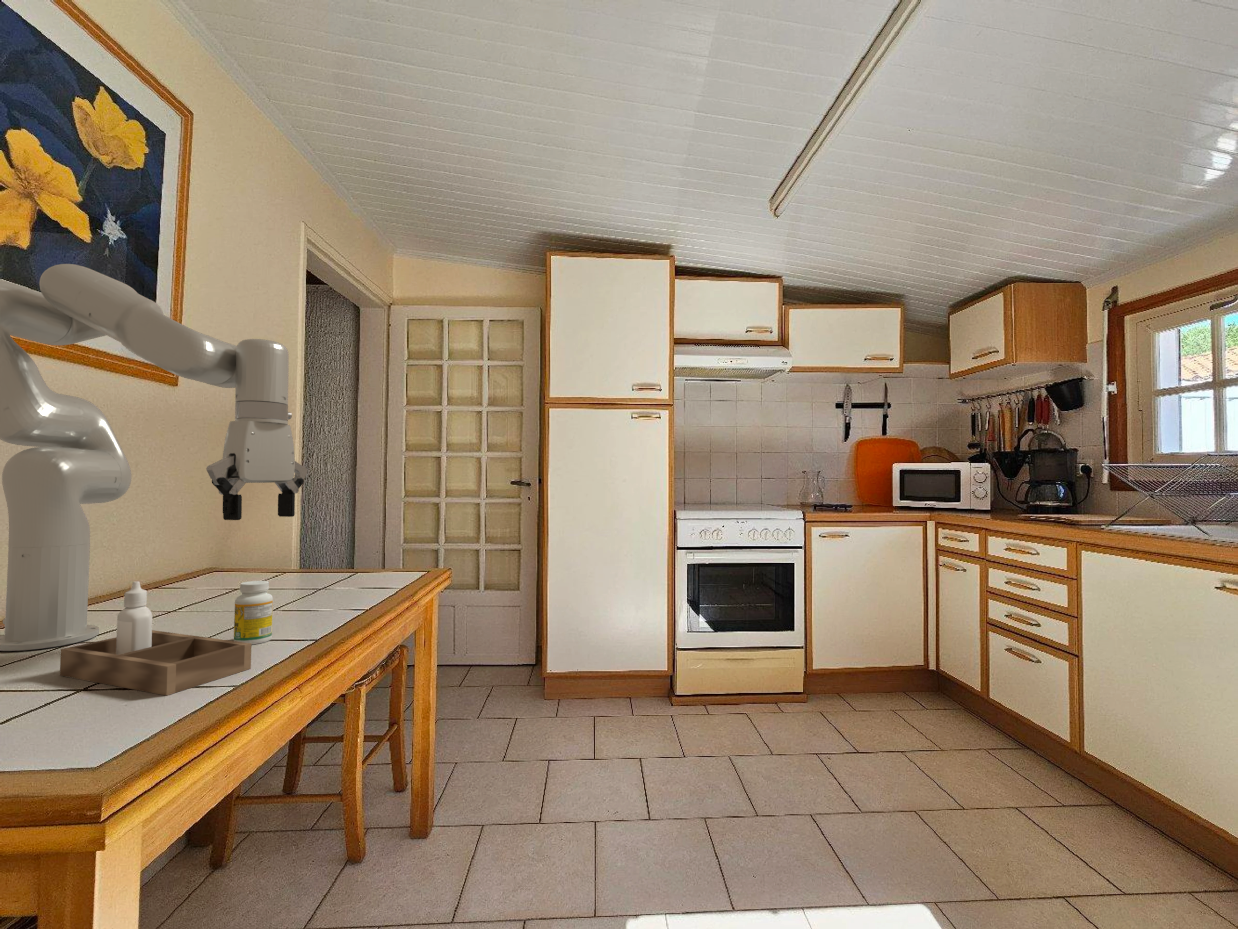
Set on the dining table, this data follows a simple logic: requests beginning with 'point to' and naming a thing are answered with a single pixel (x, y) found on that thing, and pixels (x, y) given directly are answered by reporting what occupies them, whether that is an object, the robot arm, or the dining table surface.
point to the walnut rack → (157, 662)
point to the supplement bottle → (253, 613)
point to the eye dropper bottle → (134, 622)
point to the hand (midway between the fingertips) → (260, 518)
